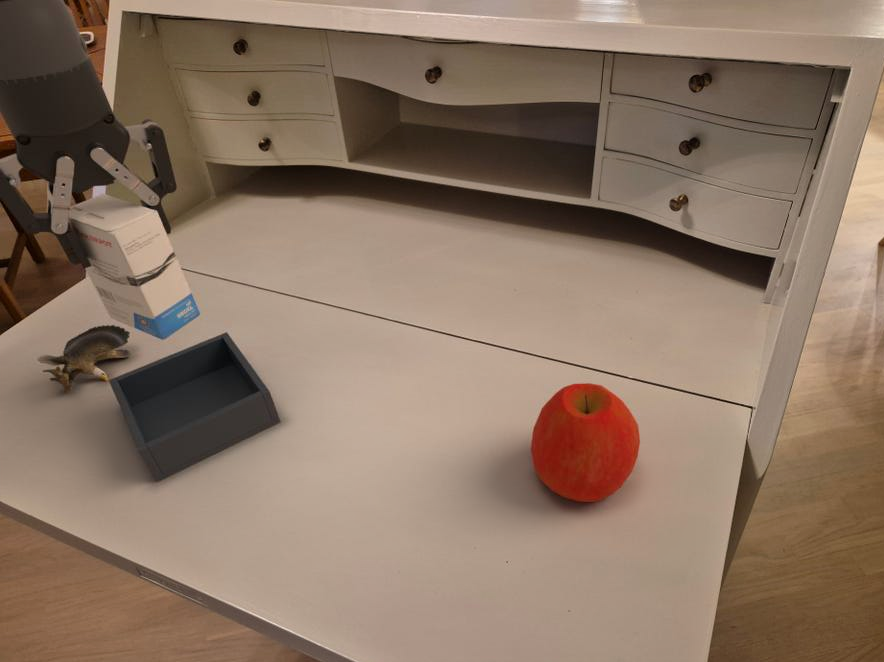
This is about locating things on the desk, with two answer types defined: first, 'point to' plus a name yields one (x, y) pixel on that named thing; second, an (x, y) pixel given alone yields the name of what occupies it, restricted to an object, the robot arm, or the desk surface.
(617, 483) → the apple
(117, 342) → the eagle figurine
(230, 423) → the tote
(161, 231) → the ink box
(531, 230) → the desk surface
